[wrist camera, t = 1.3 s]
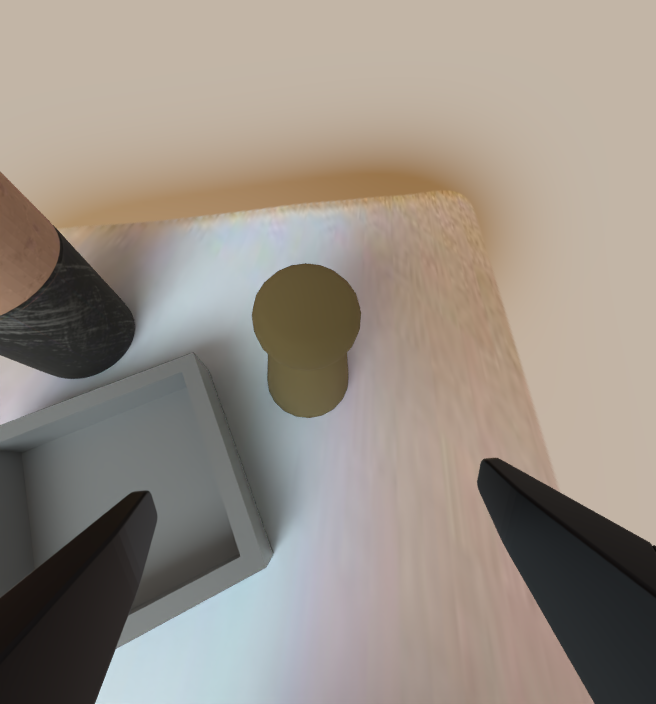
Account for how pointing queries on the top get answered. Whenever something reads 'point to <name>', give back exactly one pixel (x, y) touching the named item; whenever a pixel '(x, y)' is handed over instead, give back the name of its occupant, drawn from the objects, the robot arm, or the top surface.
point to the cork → (306, 336)
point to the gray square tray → (135, 486)
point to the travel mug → (54, 298)
